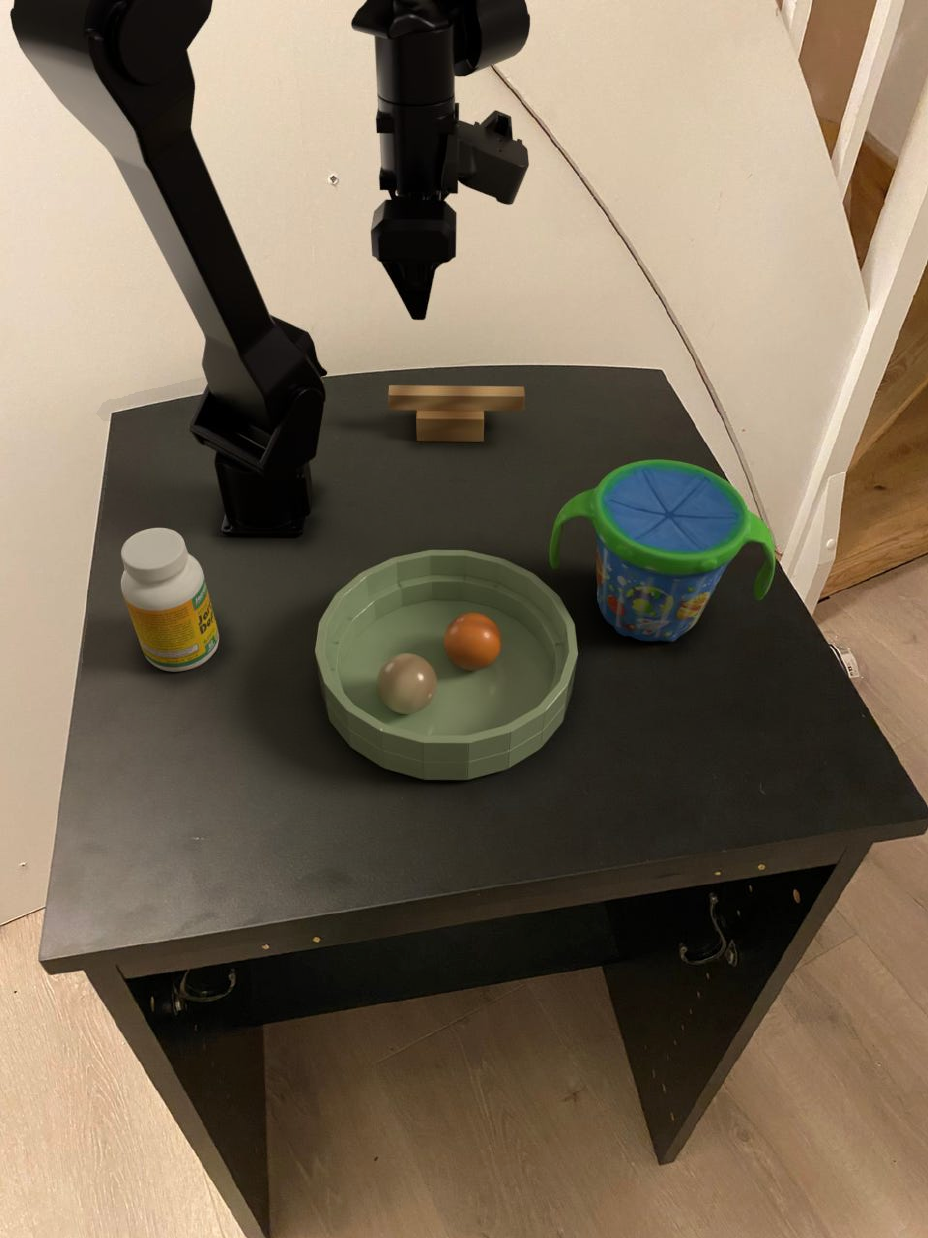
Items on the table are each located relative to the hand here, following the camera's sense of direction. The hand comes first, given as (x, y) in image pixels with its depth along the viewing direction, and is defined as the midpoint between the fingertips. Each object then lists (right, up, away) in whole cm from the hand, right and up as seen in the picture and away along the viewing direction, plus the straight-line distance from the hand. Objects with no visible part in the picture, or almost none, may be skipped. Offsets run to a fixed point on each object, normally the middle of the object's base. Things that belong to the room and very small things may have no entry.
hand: (421, 291), depth 80 cm
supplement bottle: (-16, -30, -13) cm, 37 cm away
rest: (+2, -11, +6) cm, 12 cm away
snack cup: (+18, -28, -10) cm, 34 cm away
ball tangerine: (+4, -30, -16) cm, 34 cm away
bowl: (+3, -32, -15) cm, 36 cm away
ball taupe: (0, -32, -18) cm, 37 cm away
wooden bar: (+3, -9, +4) cm, 10 cm away
